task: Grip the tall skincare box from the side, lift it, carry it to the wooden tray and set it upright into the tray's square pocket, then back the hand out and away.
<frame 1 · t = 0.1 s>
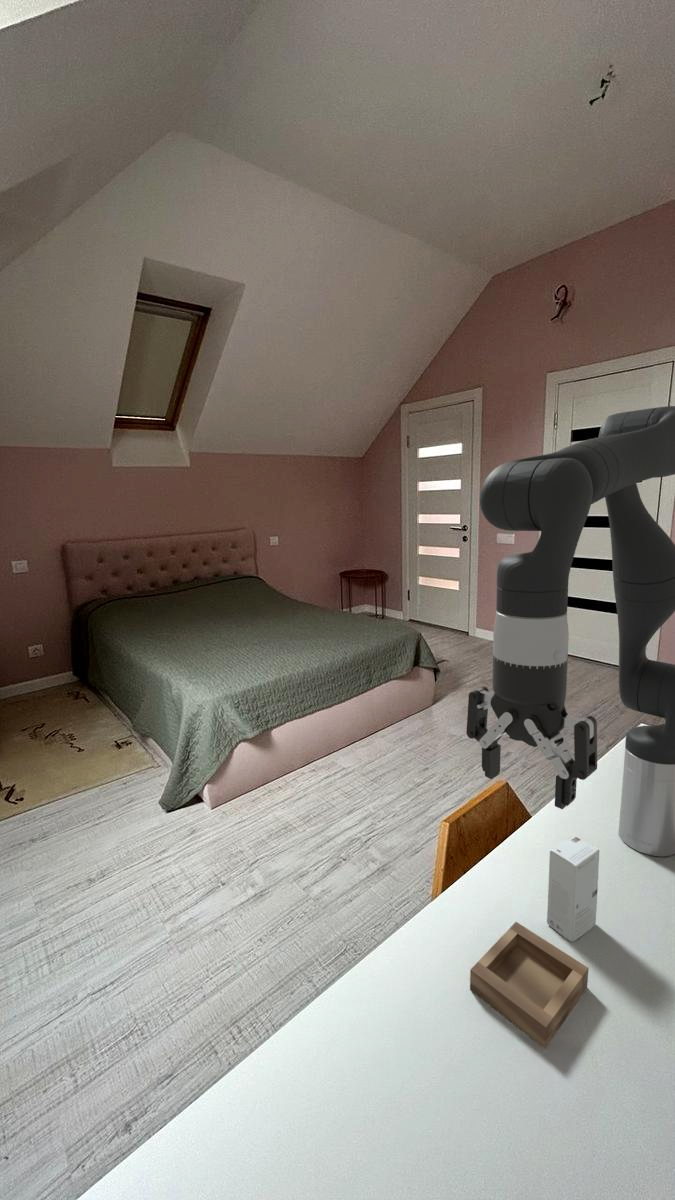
hand: (525, 789, 58), 29 cm above the table, tool pointing down, fingers open, 8 cm apart
skincare box: (570, 924, 75), on the table
wooden tray: (528, 988, 66), on the table
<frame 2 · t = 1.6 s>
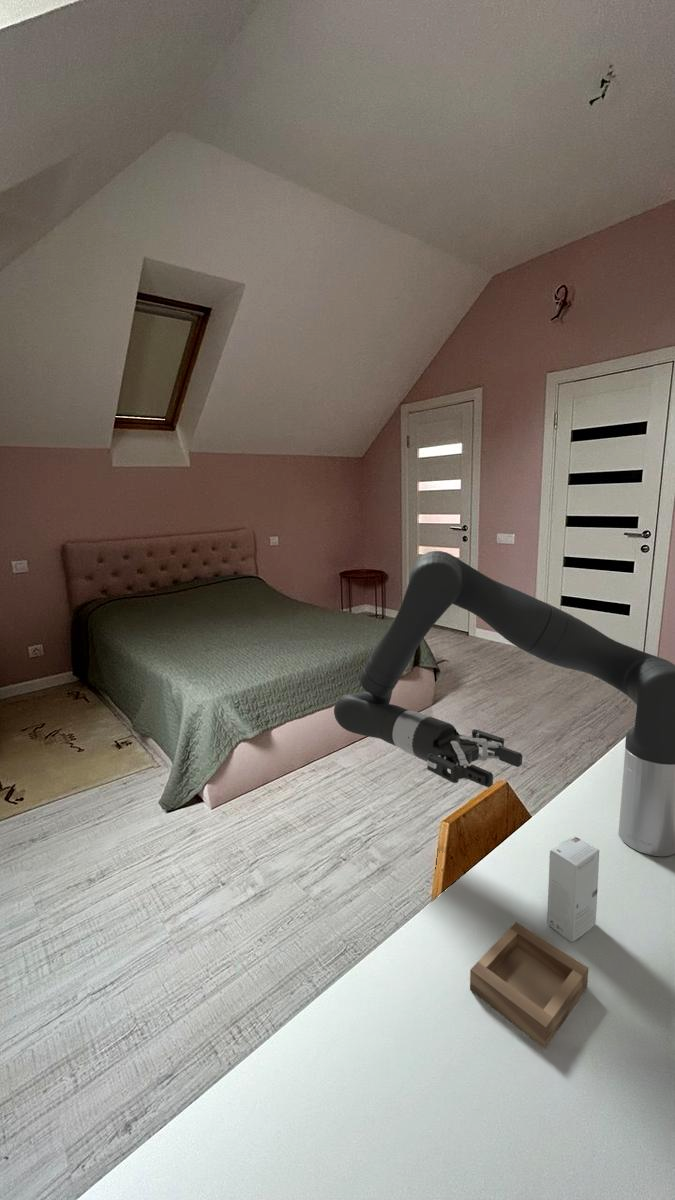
hand: (507, 770, 80), 20 cm above the table, tool horizontal, fingers open, 8 cm apart
nothing on the table moved.
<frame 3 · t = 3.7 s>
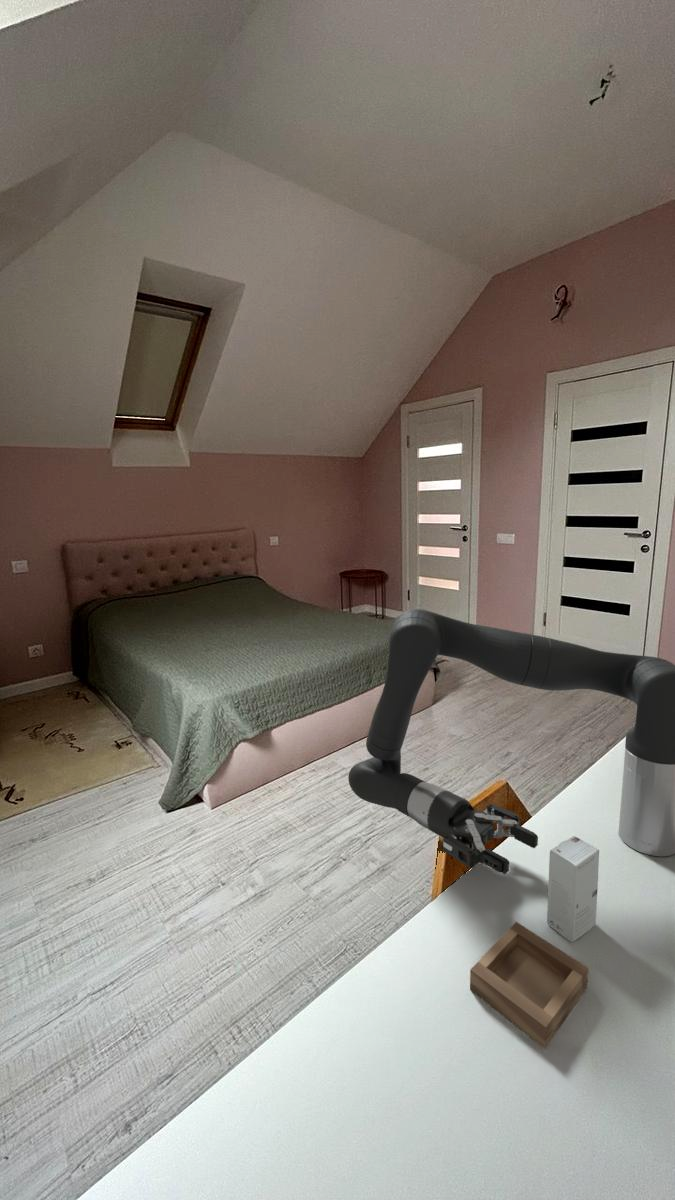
hand: (522, 854, 80), 7 cm above the table, tool horizontal, fingers open, 8 cm apart
nothing on the table moved.
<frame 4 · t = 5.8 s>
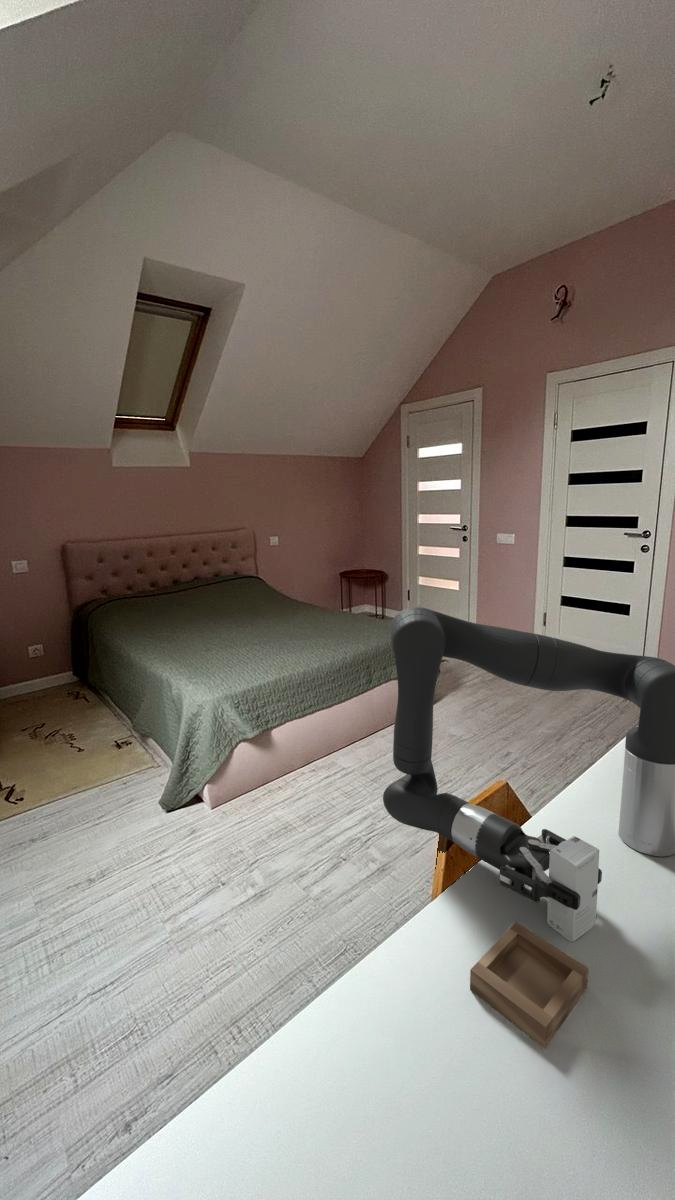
hand: (589, 889, 72), 7 cm above the table, tool horizontal, fingers closed on skincare box, 6 cm apart
skincare box: (570, 924, 75), on the table, touching gripper
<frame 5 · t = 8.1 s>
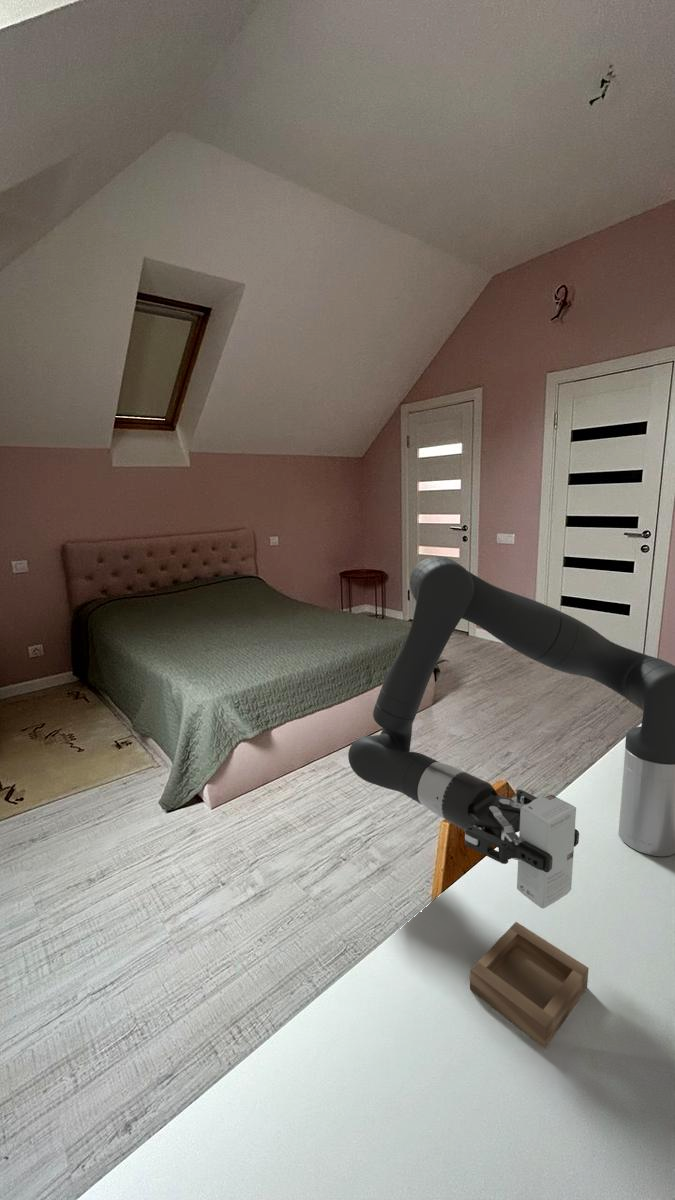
hand: (564, 851, 65), 18 cm above the table, tool horizontal, fingers closed on skincare box, 6 cm apart
skincare box: (543, 890, 68), point 11 cm above the table, touching gripper
when the fingers open (9 cm above the table, at t = 10.6 s): skincare box drops 1 cm, resting on wooden tray.
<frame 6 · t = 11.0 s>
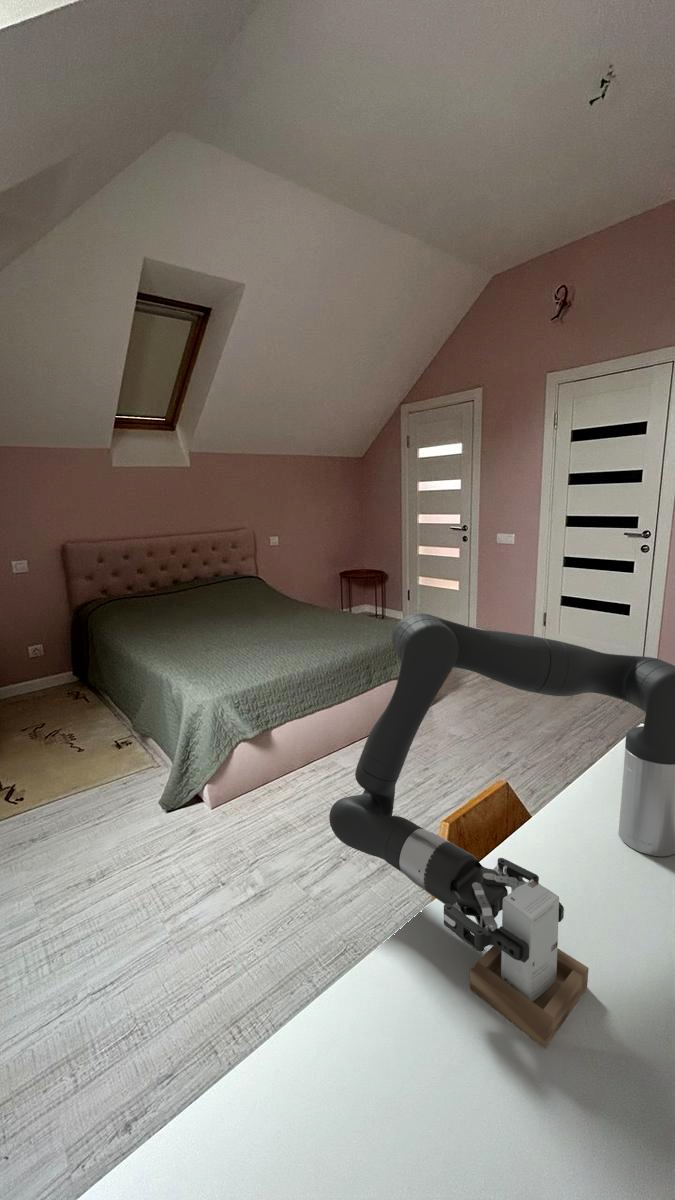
hand: (545, 933, 62), 10 cm above the table, tool horizontal, fingers open, 8 cm apart
skincare box: (528, 981, 66), point 1 cm above the table, touching wooden tray
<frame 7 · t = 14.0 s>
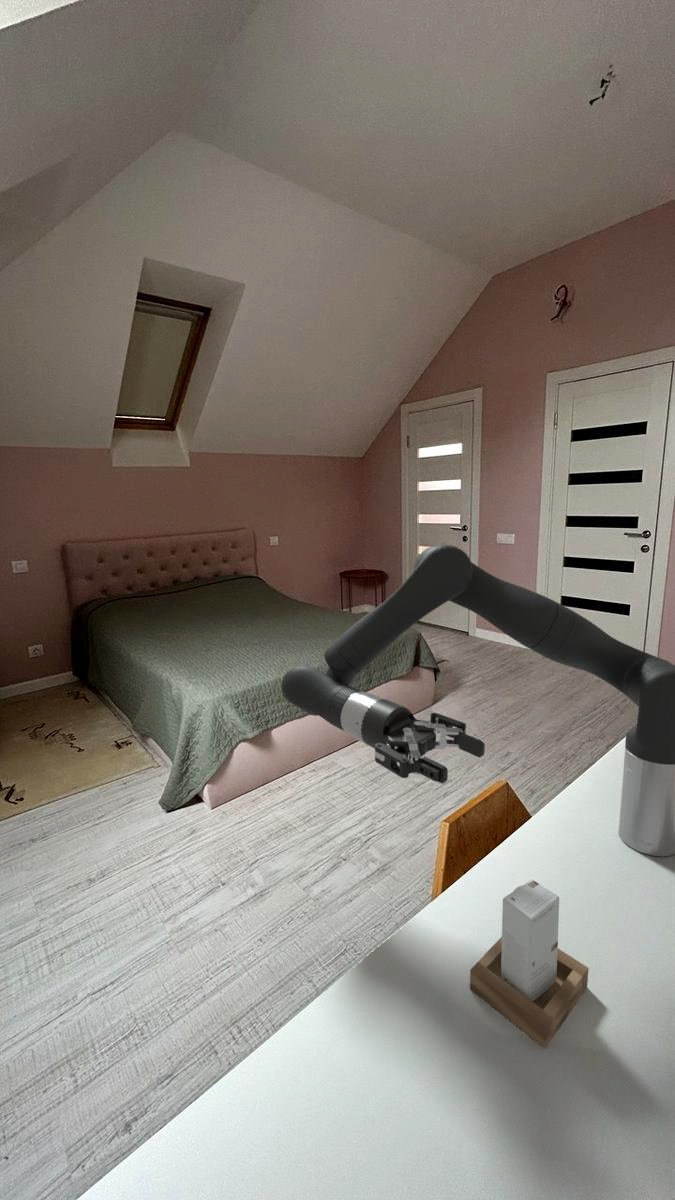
hand: (465, 762, 68), 27 cm above the table, tool horizontal, fingers open, 8 cm apart
nothing on the table moved.
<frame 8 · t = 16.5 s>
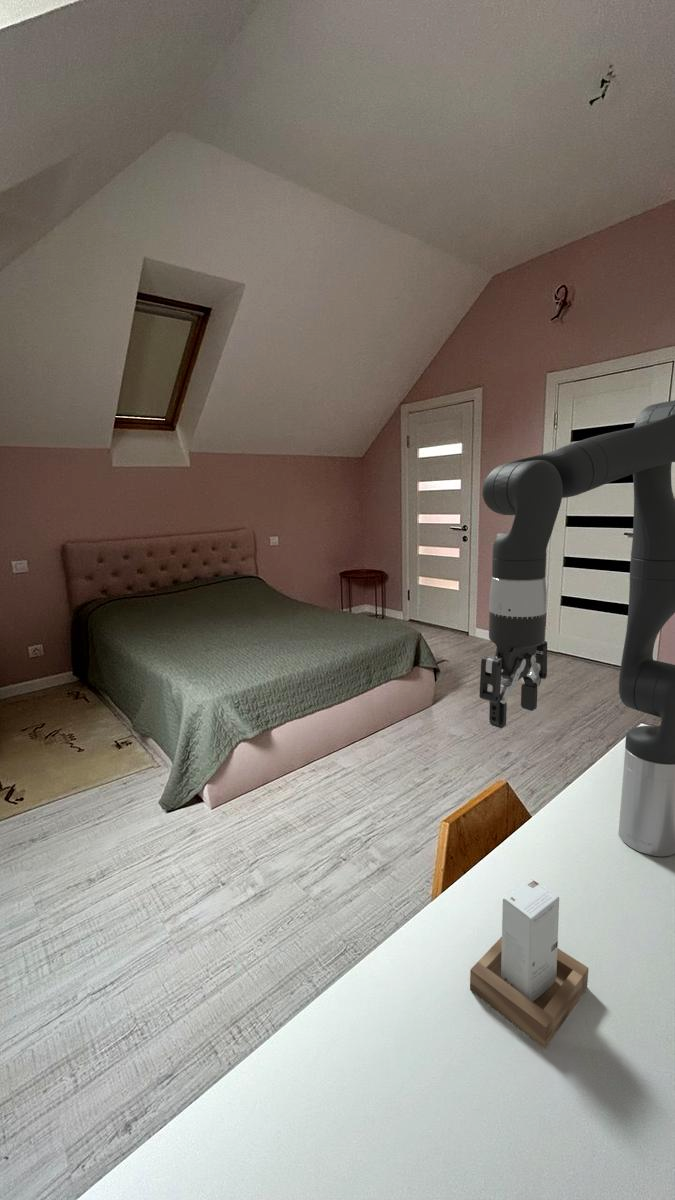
hand: (513, 717, 75), 30 cm above the table, tool pointing down, fingers open, 8 cm apart
nothing on the table moved.
at the end: skincare box 0.3 cm off-centre on the wooden tray, point 0.8 cm above the wooden tray's base; skincare box tilted 0°; the gripper is holding nothing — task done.
